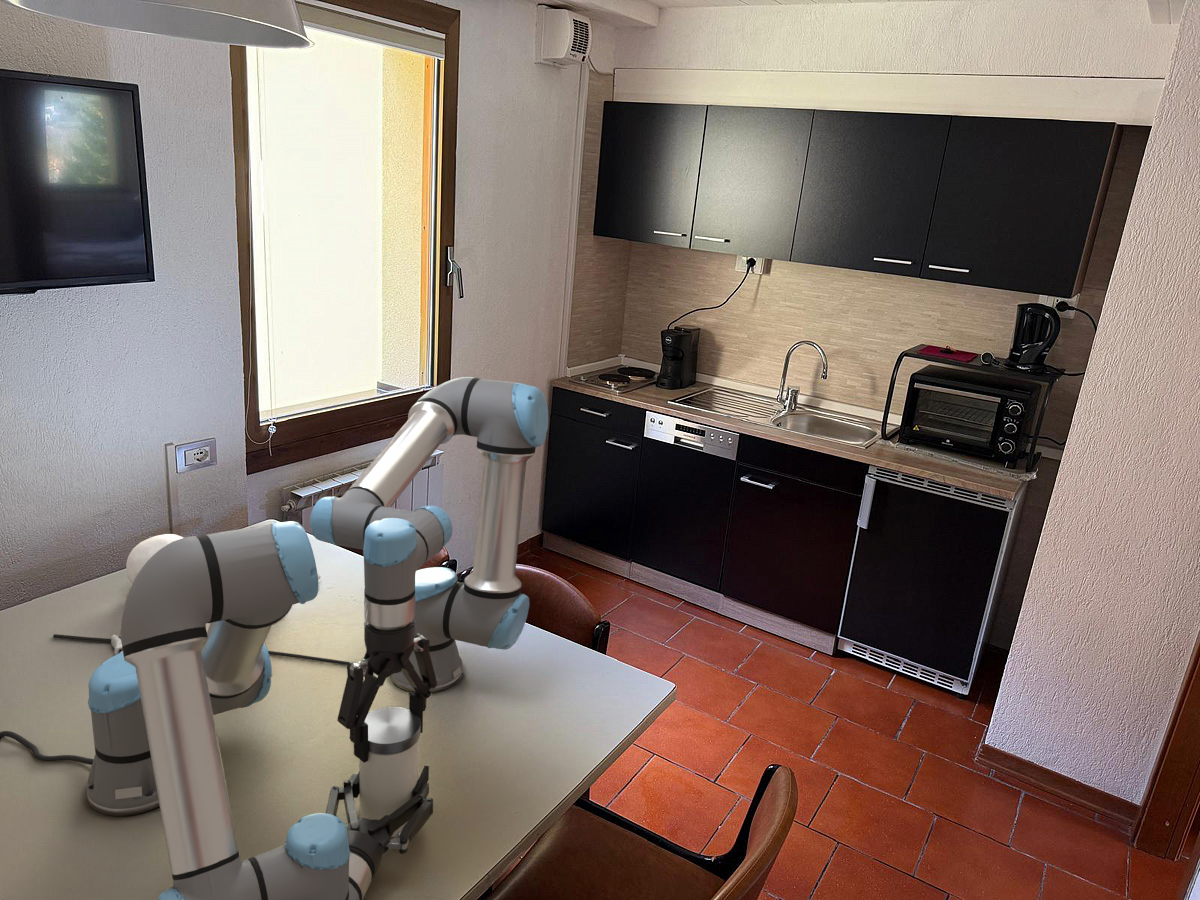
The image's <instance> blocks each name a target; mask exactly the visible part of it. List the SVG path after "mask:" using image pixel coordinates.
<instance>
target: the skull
mask: <svg viewBox="0 0 1200 900" xmlns="http://www.w3.org/2000/svg"><path fill="white" fill-rule="evenodd" d="M182 538H184V536H181V535H179V534H174V533H164V534H158V535H154V536H150V537H149V538H146V539H144V540H142V541H140V542H139V543H138V544H137V545H135V546H134V547H133V548H132V550H131V551H130V552H129V554H128V557H127V560H126V564H125V572H126V575H127V579H128V580H129V582H130V584H131V585H132V584H133V582H134V580H135V578H136V576H137V575H138V573H139V572H140V570H141V569H142V567H143V566H144V565H145V564H146V562H147V561H148V560H149V559H150V558H151V557H152V556H153V555H154V554H155V553H156V552H158V551H159V550H160V549H161V548H163V547H164V546H166V545H168V544H169V543H171V542H174V541H176V540H179V539H182Z"/></svg>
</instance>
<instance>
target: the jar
mask: <svg viewBox="0 0 1200 900" xmlns="http://www.w3.org/2000/svg"><path fill="white" fill-rule="evenodd" d="M419 742H420V741H419V740H418V741H417V742H416V743H415V745H413V746H412V747H410V748H409V749H407V750H405V751H402V752H399V753H394V754H376V753H372V752H369V751H368V761H367V762H365V763H364V762H362V761H361V760H360V759H359V758H358V759H359V771H360V794H359V818H360V817H361V818H367V819H369V820H373V819H376V820H380V819H381V818H383V817H384V816H385V815H388V816H389V815H390V814H392V813H393V812H394V811H396V810H397V809H398V808H400V807H401V806H402V805H404V804H405V803H406V802H408V801H409V800H410V799H412V798H413V790H414V788H415V786H416V784H417V781H418V779H419V745H420V744H419ZM406 823H407V822H406ZM406 823H405V824H406ZM405 824H404V825H402V826H401V827H400V828H399V829H397V830H396V831H395V832H394V833H393V835H392V836H391V837H390V839H392V838H394V837H395V836H396V835H397V834H398V832H399V831H400V832H401V831H402V829H403V827H404V826H405Z"/></svg>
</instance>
